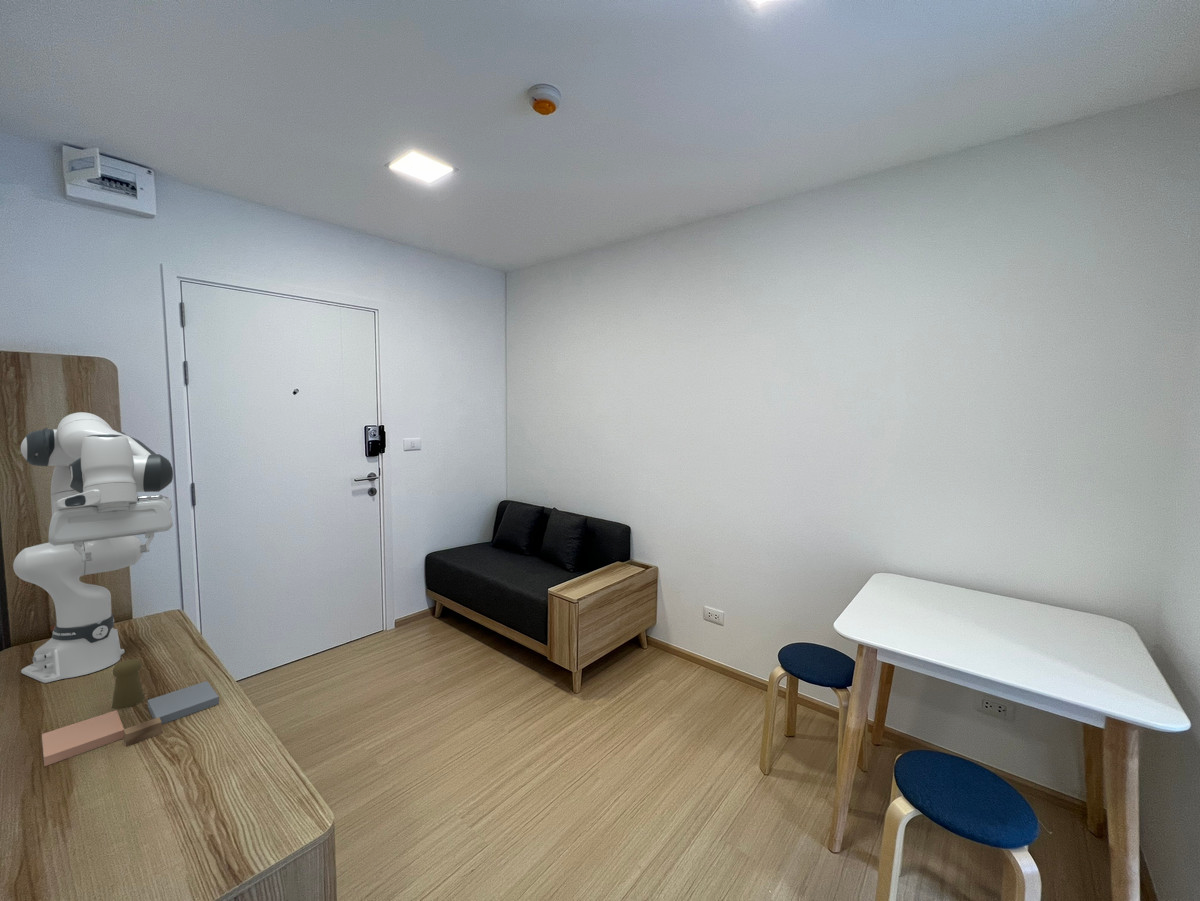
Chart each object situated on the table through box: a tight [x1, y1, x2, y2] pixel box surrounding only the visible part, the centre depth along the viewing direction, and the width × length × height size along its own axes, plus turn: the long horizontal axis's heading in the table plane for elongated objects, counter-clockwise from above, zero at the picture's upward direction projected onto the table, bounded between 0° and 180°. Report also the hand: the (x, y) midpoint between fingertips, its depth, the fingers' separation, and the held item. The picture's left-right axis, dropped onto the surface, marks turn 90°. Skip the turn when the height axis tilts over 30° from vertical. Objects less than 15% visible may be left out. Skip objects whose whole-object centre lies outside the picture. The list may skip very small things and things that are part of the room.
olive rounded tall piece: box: [111, 658, 145, 710], centre depth 122 cm, size 6×6×11 cm
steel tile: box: [147, 680, 220, 725], centre depth 121 cm, size 12×12×2 cm
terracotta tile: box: [41, 709, 125, 767], centre depth 108 cm, size 12×12×2 cm
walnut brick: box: [123, 717, 163, 747], centre depth 109 cm, size 6×3×3 cm, turn 142°
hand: (116, 556), depth 109 cm, fingers open, 8 cm apart
